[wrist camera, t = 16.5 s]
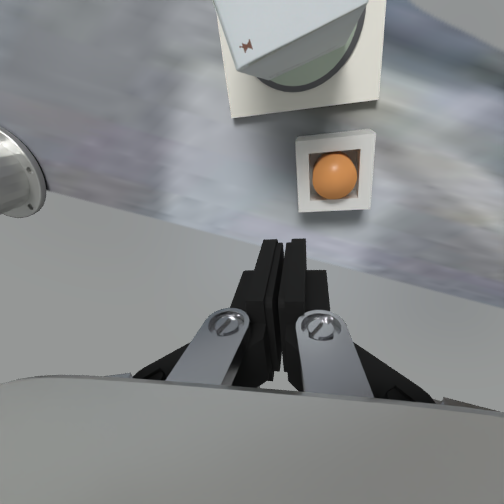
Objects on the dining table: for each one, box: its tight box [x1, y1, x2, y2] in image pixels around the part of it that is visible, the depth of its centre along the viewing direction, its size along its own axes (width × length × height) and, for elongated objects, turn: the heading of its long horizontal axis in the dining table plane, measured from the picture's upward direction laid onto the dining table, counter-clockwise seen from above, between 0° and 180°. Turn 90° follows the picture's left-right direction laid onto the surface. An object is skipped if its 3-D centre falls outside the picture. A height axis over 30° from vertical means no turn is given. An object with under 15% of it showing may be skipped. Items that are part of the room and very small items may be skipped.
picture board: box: [217, 0, 386, 118], centre depth 24 cm, size 14×14×1 cm
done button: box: [312, 151, 357, 199], centre depth 28 cm, size 4×4×3 cm
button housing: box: [295, 129, 376, 212], centre depth 29 cm, size 7×7×4 cm
